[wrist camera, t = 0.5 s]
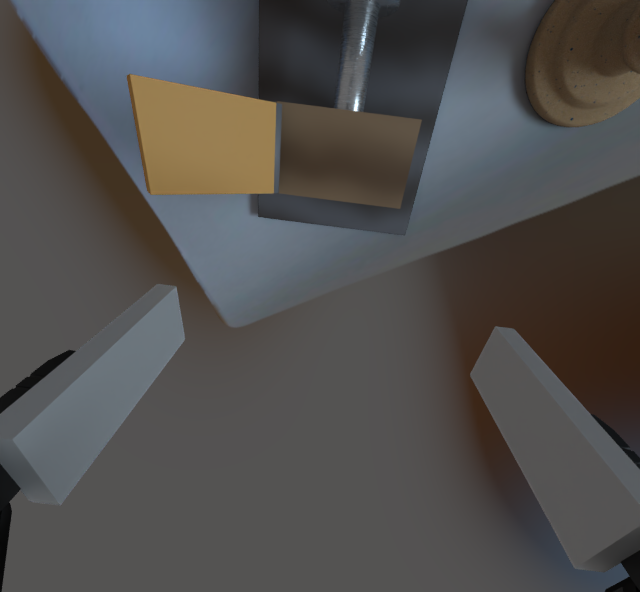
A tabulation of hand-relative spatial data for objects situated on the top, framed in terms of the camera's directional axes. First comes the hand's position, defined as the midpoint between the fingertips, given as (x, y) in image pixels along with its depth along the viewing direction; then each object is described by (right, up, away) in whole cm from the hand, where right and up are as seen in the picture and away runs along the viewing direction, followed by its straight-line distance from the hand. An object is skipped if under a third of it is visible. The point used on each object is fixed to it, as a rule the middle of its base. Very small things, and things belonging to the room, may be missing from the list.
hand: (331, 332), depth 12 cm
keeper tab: (-7, +11, +6) cm, 15 cm away
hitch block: (+2, +21, +17) cm, 27 cm away
